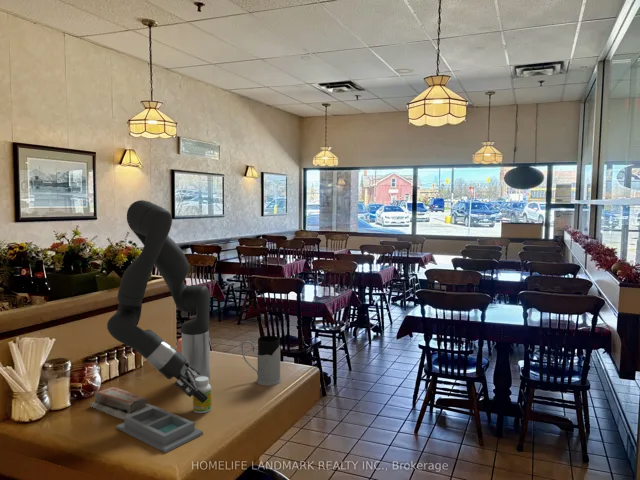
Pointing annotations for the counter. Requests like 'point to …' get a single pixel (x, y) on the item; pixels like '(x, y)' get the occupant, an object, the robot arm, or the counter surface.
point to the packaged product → (119, 402)
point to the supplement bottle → (206, 389)
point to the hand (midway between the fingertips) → (206, 394)
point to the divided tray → (159, 428)
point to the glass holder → (267, 360)
